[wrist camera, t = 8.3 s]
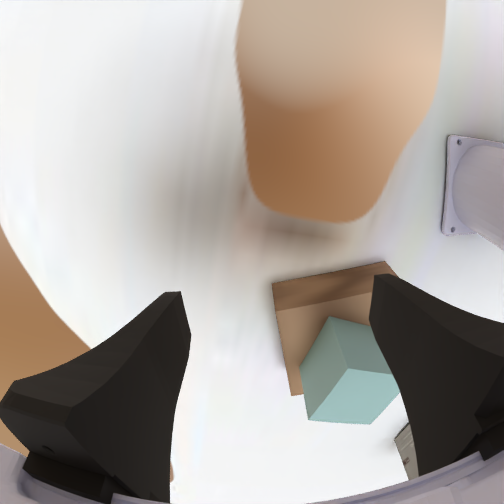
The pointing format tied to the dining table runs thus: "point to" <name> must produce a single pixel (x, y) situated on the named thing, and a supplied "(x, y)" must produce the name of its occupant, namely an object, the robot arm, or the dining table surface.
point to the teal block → (346, 375)
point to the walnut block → (320, 309)
